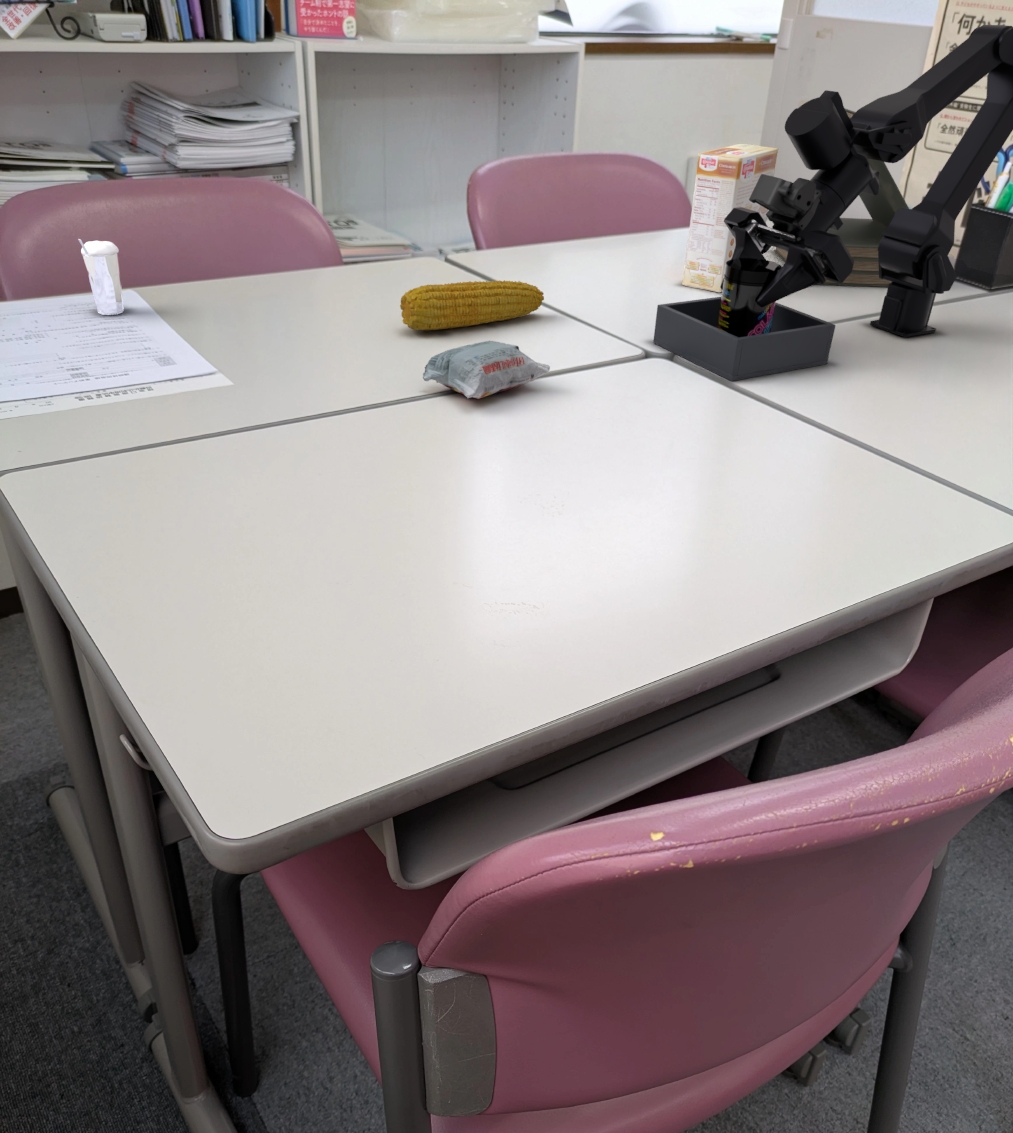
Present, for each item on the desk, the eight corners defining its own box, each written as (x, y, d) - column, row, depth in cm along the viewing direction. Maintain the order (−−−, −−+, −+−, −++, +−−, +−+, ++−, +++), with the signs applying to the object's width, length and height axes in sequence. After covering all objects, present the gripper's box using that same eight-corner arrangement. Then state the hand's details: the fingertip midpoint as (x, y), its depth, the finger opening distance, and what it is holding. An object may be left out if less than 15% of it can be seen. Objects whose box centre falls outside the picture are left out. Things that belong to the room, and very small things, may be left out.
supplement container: (738, 359, 117) (751, 274, 111) (703, 343, 122) (714, 261, 116) (779, 351, 120) (794, 268, 114) (743, 336, 125) (755, 255, 119)
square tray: (744, 328, 130) (750, 292, 127) (827, 364, 118) (835, 324, 116) (652, 342, 123) (657, 304, 121) (731, 381, 112) (738, 340, 109)
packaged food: (548, 389, 107) (550, 347, 105) (468, 414, 100) (468, 369, 98) (498, 369, 113) (498, 329, 110) (418, 391, 106) (417, 348, 103)
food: (416, 340, 121) (415, 293, 118) (395, 328, 125) (394, 283, 122) (550, 318, 131) (552, 275, 128) (527, 308, 135) (529, 265, 132)
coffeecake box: (719, 267, 160) (738, 142, 149) (759, 275, 156) (781, 147, 146) (679, 285, 149) (696, 151, 139) (721, 293, 146) (741, 156, 135)
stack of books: (927, 288, 152) (971, 118, 139) (806, 283, 152) (839, 113, 139) (880, 255, 172) (916, 103, 159) (773, 251, 172) (800, 98, 159)
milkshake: (80, 315, 125) (65, 237, 120) (109, 305, 129) (95, 229, 124) (108, 320, 123) (93, 241, 118) (136, 309, 128) (123, 233, 123)
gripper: (747, 138, 117) (663, 237, 118) (856, 160, 103) (760, 272, 104) (785, 201, 124) (706, 293, 126) (892, 230, 110) (802, 334, 112)
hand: (740, 297), depth 117 cm, fingers closed on supplement container, 7 cm apart
